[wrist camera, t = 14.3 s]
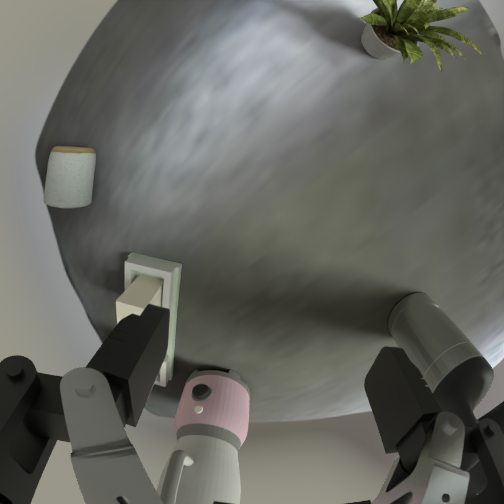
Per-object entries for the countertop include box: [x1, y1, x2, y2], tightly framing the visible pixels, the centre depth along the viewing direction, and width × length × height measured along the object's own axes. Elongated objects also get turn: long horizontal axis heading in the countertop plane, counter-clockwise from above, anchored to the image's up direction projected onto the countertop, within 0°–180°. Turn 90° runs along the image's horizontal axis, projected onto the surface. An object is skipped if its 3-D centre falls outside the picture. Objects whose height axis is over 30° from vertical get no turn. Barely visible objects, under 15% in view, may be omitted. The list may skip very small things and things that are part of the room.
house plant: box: [358, 0, 483, 72], centre depth 20 cm, size 14×14×16 cm
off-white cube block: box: [116, 275, 164, 324], centre depth 36 cm, size 6×6×8 cm
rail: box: [125, 252, 182, 400], centre depth 38 cm, size 8×23×10 cm, turn 168°
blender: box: [156, 369, 250, 504], centre depth 32 cm, size 16×12×32 cm
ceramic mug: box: [44, 146, 96, 208], centre depth 31 cm, size 11×8×8 cm
